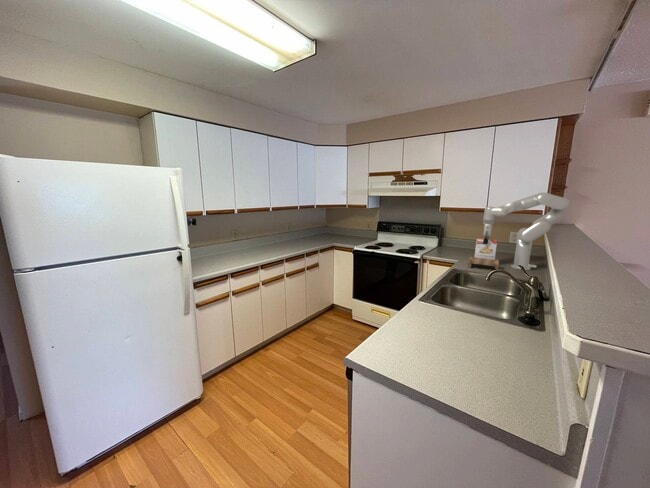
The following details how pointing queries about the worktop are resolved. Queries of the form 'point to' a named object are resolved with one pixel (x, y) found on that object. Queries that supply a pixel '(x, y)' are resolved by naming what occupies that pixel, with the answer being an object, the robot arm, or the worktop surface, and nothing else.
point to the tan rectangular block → (483, 262)
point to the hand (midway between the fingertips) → (485, 242)
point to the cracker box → (485, 249)
